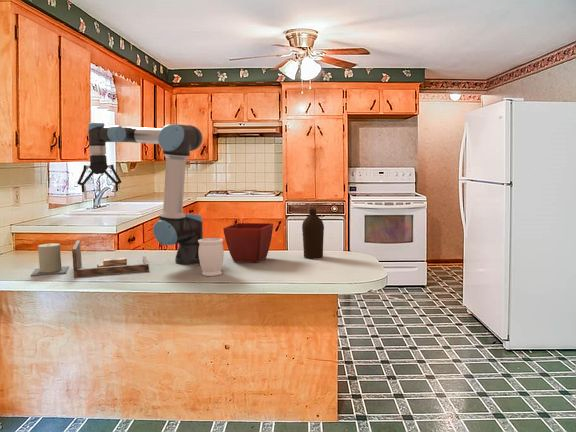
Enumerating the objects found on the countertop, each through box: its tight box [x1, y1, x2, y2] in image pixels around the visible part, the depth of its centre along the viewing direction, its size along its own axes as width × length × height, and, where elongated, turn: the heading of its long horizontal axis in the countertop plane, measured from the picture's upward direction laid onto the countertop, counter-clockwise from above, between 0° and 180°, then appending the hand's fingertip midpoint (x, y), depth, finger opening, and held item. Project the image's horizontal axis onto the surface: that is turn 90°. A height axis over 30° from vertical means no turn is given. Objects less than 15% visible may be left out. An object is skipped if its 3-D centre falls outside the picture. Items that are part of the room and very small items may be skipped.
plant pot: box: [223, 222, 274, 263], centre depth 249 cm, size 19×19×17 cm
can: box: [37, 242, 63, 273], centre depth 231 cm, size 9×9×12 cm
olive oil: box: [301, 205, 325, 260], centre depth 253 cm, size 11×11×25 cm
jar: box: [198, 237, 225, 277], centre depth 220 cm, size 11×10×15 cm
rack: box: [71, 239, 150, 278], centre depth 237 cm, size 31×26×12 cm
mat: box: [30, 265, 69, 277], centre depth 232 cm, size 14×14×1 cm
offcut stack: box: [96, 257, 128, 268], centre depth 232 cm, size 15×5×5 cm, turn 115°
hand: (100, 198), depth 254 cm, fingers open, 13 cm apart
